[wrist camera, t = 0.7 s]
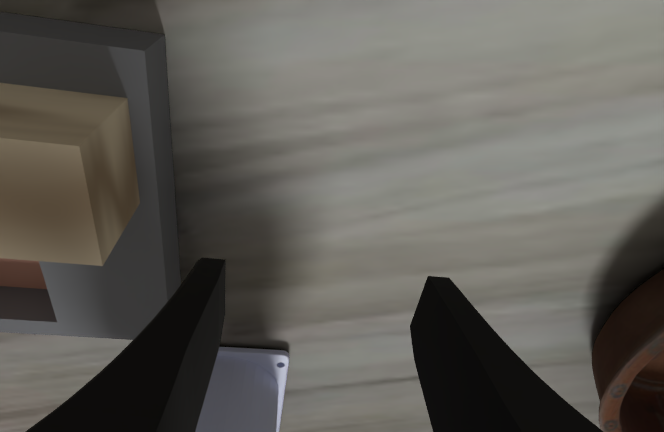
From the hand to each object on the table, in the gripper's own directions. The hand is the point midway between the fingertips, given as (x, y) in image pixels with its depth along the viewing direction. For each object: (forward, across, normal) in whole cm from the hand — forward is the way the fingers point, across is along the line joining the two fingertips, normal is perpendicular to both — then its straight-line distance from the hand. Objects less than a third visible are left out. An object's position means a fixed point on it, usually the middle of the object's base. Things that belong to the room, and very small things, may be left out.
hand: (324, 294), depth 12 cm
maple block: (+7, +10, 0) cm, 12 cm away
